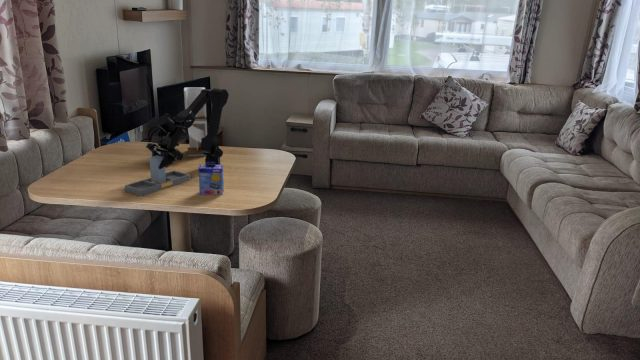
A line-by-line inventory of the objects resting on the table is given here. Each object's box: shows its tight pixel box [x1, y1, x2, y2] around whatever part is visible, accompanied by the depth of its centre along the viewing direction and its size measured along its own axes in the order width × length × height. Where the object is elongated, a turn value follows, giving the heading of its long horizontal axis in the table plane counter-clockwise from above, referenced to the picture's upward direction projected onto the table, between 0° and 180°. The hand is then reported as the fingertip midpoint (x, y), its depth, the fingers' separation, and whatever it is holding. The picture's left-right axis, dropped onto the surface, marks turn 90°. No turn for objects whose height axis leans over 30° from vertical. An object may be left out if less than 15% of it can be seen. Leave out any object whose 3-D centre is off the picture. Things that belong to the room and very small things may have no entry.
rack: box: [124, 170, 191, 197], centre depth 219 cm, size 27×11×2 cm, turn 148°
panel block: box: [148, 155, 167, 183], centre depth 217 cm, size 4×5×11 cm
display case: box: [183, 87, 208, 157], centre depth 264 cm, size 11×11×35 cm
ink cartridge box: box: [198, 162, 225, 196], centre depth 210 cm, size 10×6×14 cm, turn 95°
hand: (155, 167), depth 215 cm, fingers closed on panel block, 5 cm apart
